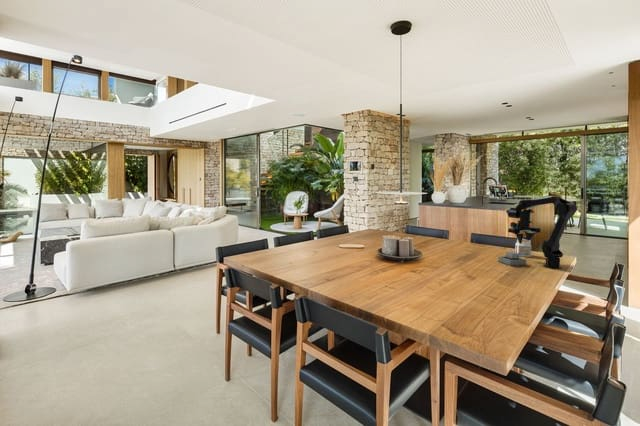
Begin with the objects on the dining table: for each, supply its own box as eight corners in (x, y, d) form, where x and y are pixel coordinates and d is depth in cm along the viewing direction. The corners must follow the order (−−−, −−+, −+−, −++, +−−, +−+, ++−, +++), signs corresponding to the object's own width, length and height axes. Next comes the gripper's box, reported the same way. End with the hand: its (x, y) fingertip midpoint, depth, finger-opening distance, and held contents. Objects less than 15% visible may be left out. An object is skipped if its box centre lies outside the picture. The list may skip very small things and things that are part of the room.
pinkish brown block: (530, 245, 207) (530, 240, 207) (523, 246, 206) (524, 240, 206) (523, 244, 213) (523, 238, 213) (516, 244, 212) (517, 238, 212)
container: (518, 256, 221) (519, 237, 220) (514, 253, 228) (515, 235, 227) (531, 257, 219) (532, 237, 217) (527, 254, 226) (528, 235, 225)
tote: (526, 265, 198) (526, 259, 198) (510, 266, 196) (510, 260, 196) (513, 261, 208) (513, 255, 208) (498, 261, 207) (498, 256, 207)
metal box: (518, 263, 200) (519, 253, 200) (511, 263, 200) (511, 254, 199) (512, 261, 205) (513, 251, 205) (505, 261, 204) (506, 252, 204)
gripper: (528, 217, 217) (527, 240, 219) (502, 218, 215) (501, 241, 216) (541, 219, 206) (540, 243, 208) (515, 220, 204) (513, 244, 205)
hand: (523, 243), depth 210 cm, fingers closed on pinkish brown block, 4 cm apart
